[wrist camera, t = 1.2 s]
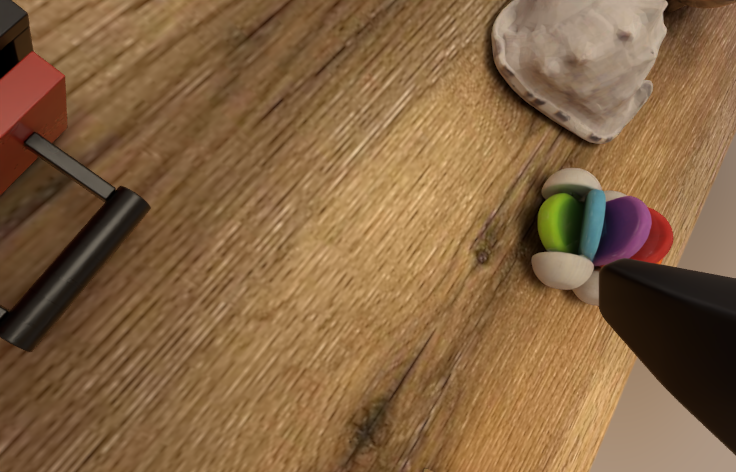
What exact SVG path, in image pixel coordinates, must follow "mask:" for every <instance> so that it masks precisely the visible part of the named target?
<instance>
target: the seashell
mask: <svg viewBox="0 0 736 472" xmlns="http://www.w3.org/2000/svg"><path fill="white" fill-rule="evenodd" d="M667 5H668V3H667V1H666V0H513V1H512V2H510V3H509V4H508V5H507V6H506V7H505V8H504V9H503V10H502V11H501V12H500V14H499V15H498V16H497V18H496V20H495V22H494V24H493V27H492V33H491V39H492V50H493V58H494V62H495V65H496V67H497V69H498V71H499V72H500V74H501V75H502V76H503V78H504V79H505V80H506V82H507V83H508V84H509V86H510V87H511V88H512V89H513V90H514V91H515V92H516V93H517V94H518V95H519V96H520V97H521V98H522V99H524V100H525V101H526V102H527V103H529V104H530V105H531V106H533V107H534V108H536V109H537V110H539V111H540V112H541V113H543V114H544V115H546V116H547V117H549V118H550V119H552V120H553V121H555V122H556V123H558V124H559V125H561V126H563V127H564V128H566V129H567V130H569V131H571V132H572V133H574V134H576V135H577V136H579V137H581V138H582V139H584V140H587V141H589V142H591V143H596V144H605V143H607V142H610V141H612V140H613V139H614V138H615V137H616V136H617V135H619V133H620V132H621V130H622V129H623V128H624V127H625V126H626V124H627V123H628V122H629V121H631V120H632V119H633V117H634V116H635V115H636V113H637V112H638V111H639V109H640V108H641V107H642V106H643V105H644V104H645V102H646V101H647V99H648V98H649V96H650V94H651V93H652V90H653V84H652V82H651V81H649V80H644V79H645V78H646V76H647V74H648V73H649V71H650V69H651V68H652V66H653V64H654V63H655V59H656V57H657V54H658V50H659V47H660V45H661V43H662V40H663V39H664V37H665V35H666V32H667V28H666V27H665V25H664V23H663V11H664V10H665V8H666V7H667Z"/></svg>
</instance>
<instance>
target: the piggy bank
mask: <svg viewBox="0 0 736 472" xmlns="http://www.w3.org/2000/svg"><path fill="white" fill-rule="evenodd" d="M666 1H667V3H668V5H667V7H666V8H665V10H664V11H666V12H673V11H675V10H677V9H679V8H681V7H683V6H685V5H687V6H690V7H695V8H718V7H723V6H727V5H730V4H733V3H736V0H666Z"/></svg>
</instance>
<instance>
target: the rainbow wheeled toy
mask: <svg viewBox="0 0 736 472" xmlns="http://www.w3.org/2000/svg"><path fill="white" fill-rule="evenodd" d="M542 196H543V197H544V198H545V199H546V201H545V202H544V203H543V204H542V206H541V208H540V210H539V213H538V223H537V224H538V233H539V236H540V239H541V242H542V244H543V246H544V247H545V249H546V250H547V251H548V252H541V253H537V254H535V255H534V256H532V259H531V261H532V268H533V271H534V273H535V275H536V276H537V278H538V279H539V280H540V281H541V282H542V283H543V284H545V285H547V286H549V287H552V288H556V289H563V290H570V289H572V290H573V292H574V293H575V295H576V296H577V297H578V298H579V299H580V300H581V301H583V302H585V303H587V304H591V305H596V306H599V271H600V269H601V268H602V267H603V266H604V265H606V264H609V263H611V262H613V261H616V260H618V259H622V258H628V259H634V260H639V261H644V262H650V263H655V264H661V262H662V260H663V258H664V257H665V255H666V254H667V253H668V252H669V250H670V248H671V246H672V244H673V232H672V228H671V226H670V224H669V222H668V221H667V220H666V218H665V217H664V216H662V215H661V214H660V213H658V212H657V211H655V210H654V209H651V208H649V207H647V206H646V205H645V204H644V203H643V202H642V201H641V200H639V199H638V198H635V197H632V196H627V195H625V194H623V193H621V192H617V191H602V188H601V185H600V183H599V182H598V180H597V179H596V178H595V177H594V176H593V175H592V174H591V173H589V172H588V171H586V170H583V169H579V168H566V169H562V170H560V171H558V172H556V173H554V174H553V175H551V176H550V177H549V178H548V179H547V181H546V182H545V184H544V186H543V188H542Z"/></svg>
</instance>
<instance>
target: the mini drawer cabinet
mask: <svg viewBox="0 0 736 472" xmlns="http://www.w3.org/2000/svg"><path fill="white" fill-rule="evenodd" d="M31 51H33V45H32V39H31V33H30V27H29V18H28V13H27V12H26V11H24V10H23V9H22V8H21V7H19V6H18V5H17V4H15V3H14V2H13V1H12V0H0V79H1V78H2V77H3V76H4V75H5V74H6V73H7V72H9V71H10V70H11V69H12V68H13V67H14V66H15V65H16V64H17V63H19V62H20V61H21V60H22V59H23V58H24V57H25V56H26V55H27V54H29V53H30V52H31ZM33 52H34V51H33Z"/></svg>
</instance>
